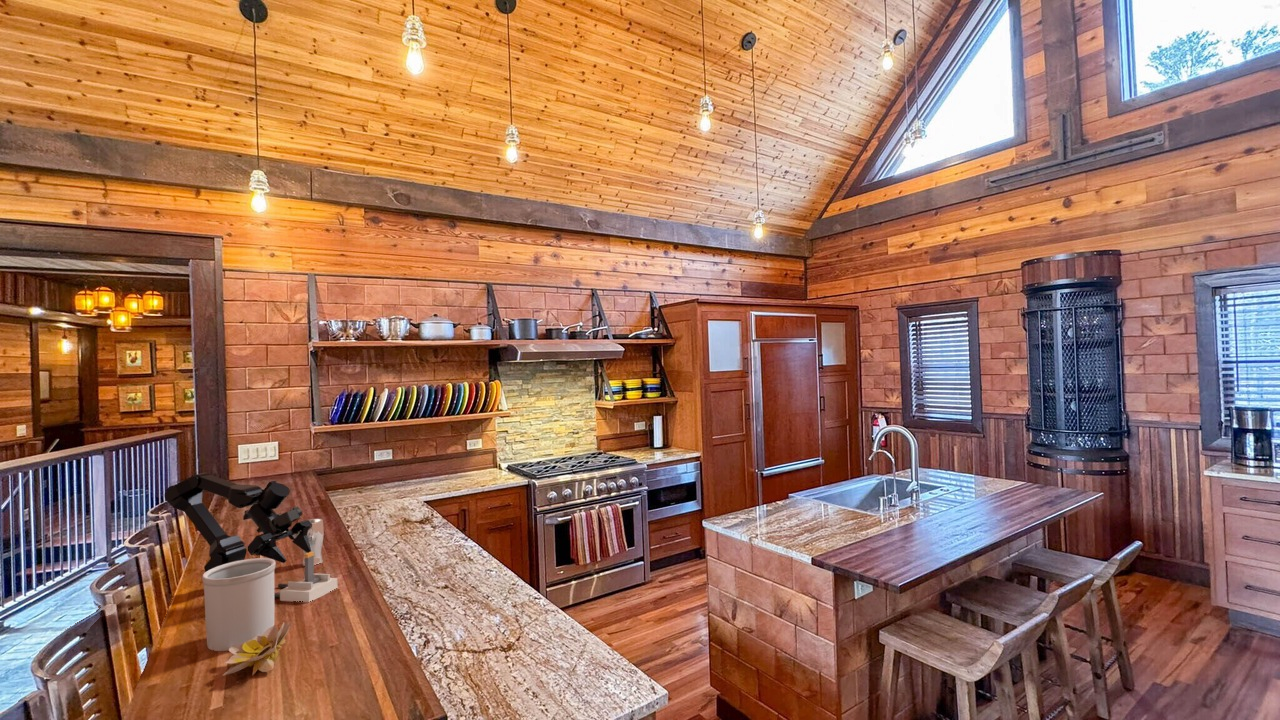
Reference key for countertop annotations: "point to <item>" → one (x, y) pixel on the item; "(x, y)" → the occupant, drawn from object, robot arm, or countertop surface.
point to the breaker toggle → (309, 568)
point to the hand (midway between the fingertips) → (297, 556)
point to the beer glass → (315, 539)
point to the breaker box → (306, 589)
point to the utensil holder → (238, 602)
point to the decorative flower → (258, 650)
